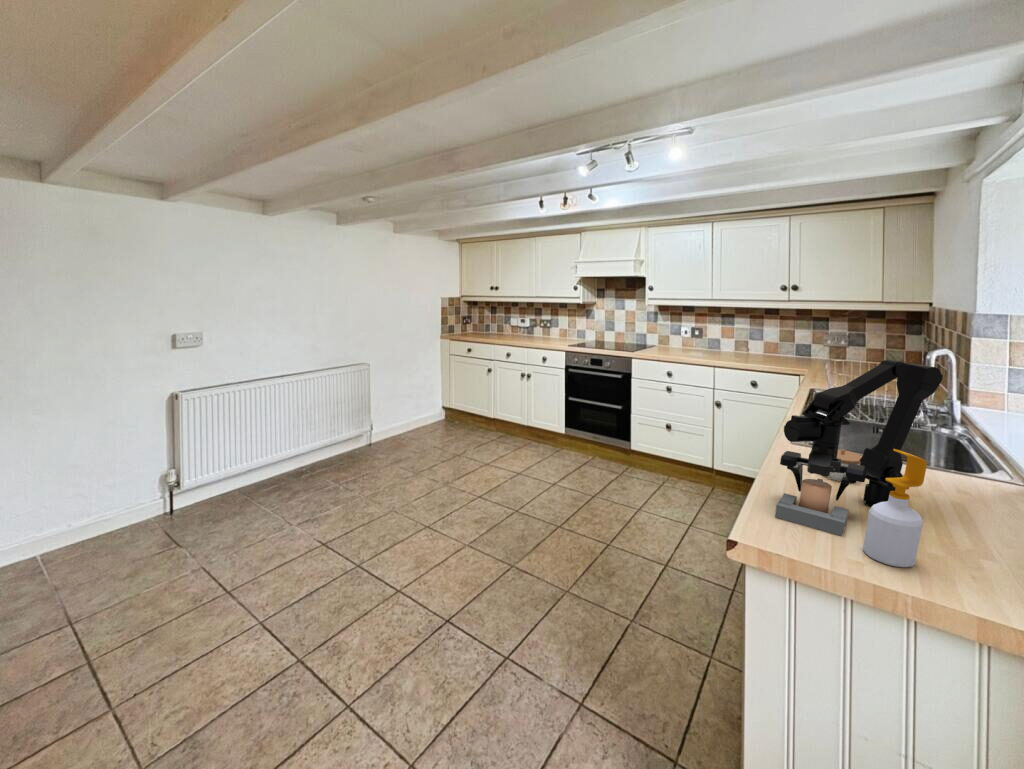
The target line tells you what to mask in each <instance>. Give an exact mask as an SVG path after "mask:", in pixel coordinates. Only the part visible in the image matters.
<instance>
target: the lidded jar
mask: <svg viewBox="0 0 1024 769" xmlns="http://www.w3.org/2000/svg"><path fill="white" fill-rule="evenodd" d="M862 456H863V455H860V454H858V453H856V452H852V451H848V450H846V449H842V448H841V449H838V453H837V459H841V466H846V467H848V464H849V463H852V464H857V465H860V463H861V461H859V460H860V459H861V458H862ZM843 475H844V473H836V472H834V473H832V472H830V475H829V476H828V477H829V479H830V478H831V479H830V480H833V481H836V480H837V482H840V481H841V480H842V478H843ZM828 477H827V478H828Z"/></svg>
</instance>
